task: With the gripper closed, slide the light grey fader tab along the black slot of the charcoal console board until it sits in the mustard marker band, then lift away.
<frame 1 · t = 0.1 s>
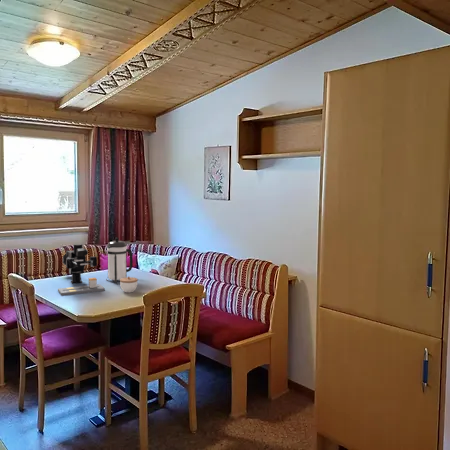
hand: (84, 264, 283), 17 cm above the table, tool horizontal, fingers open, 9 cm apart
coffee press: (118, 280, 315), on the table
console board: (81, 290, 285), on the table
lidded jar: (128, 291, 286), on the table
fader: (92, 282, 288), point 4 cm above the table, slide at 7.0 cm
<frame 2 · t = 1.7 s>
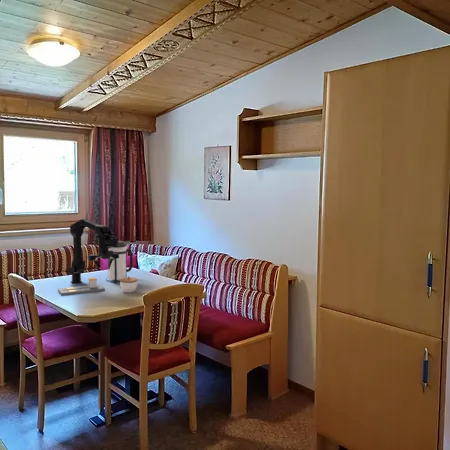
hand: (103, 269, 290), 12 cm above the table, tool pointing down, fingers open, 6 cm apart
nothing on the table moved.
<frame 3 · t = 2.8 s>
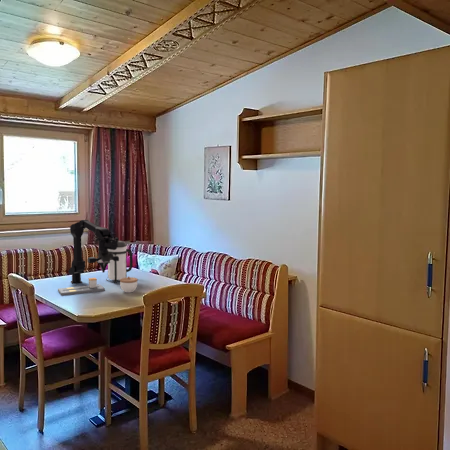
hand: (103, 272, 291), 10 cm above the table, tool pointing down, fingers closed
nothing on the table moved.
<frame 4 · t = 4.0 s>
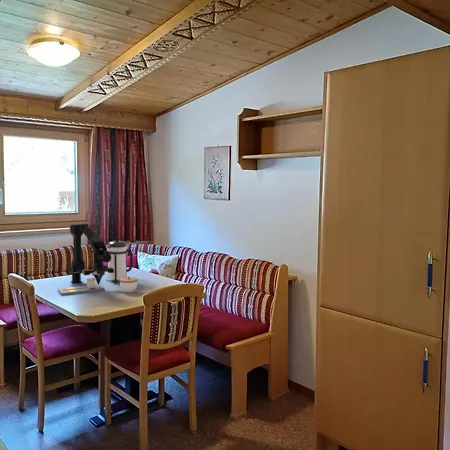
hand: (98, 284, 290), 3 cm above the table, tool pointing down, fingers closed
fader: (91, 282, 287), point 4 cm above the table, slide at 6.0 cm, touching gripper
everything else where it was.
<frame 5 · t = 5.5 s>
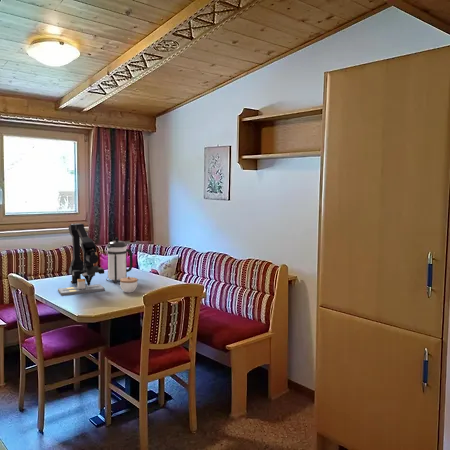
hand: (88, 285, 287), 3 cm above the table, tool pointing down, fingers closed
fader: (81, 283, 284), point 4 cm above the table, slide at 0.0 cm, touching gripper
everything else where it was.
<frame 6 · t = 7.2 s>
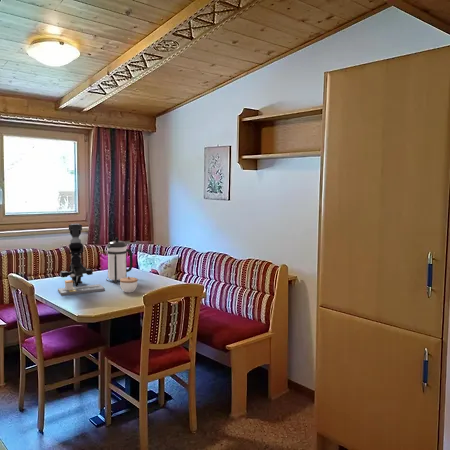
hand: (76, 286, 283), 3 cm above the table, tool pointing down, fingers closed
fader: (69, 285, 281), point 4 cm above the table, slide at -7.4 cm, touching gripper
everything else where it was.
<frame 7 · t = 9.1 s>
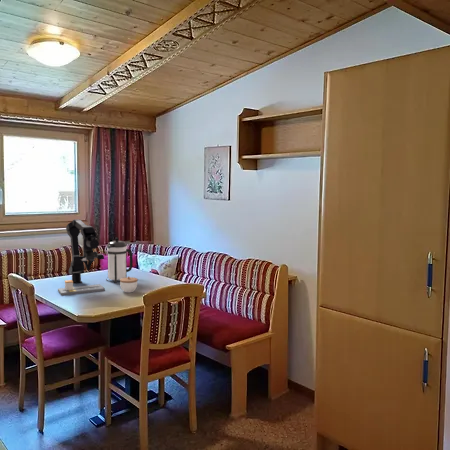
hand: (88, 270, 289), 12 cm above the table, tool pointing down, fingers closed
fader: (68, 285, 281), point 4 cm above the table, slide at -7.4 cm
everything else where it was.
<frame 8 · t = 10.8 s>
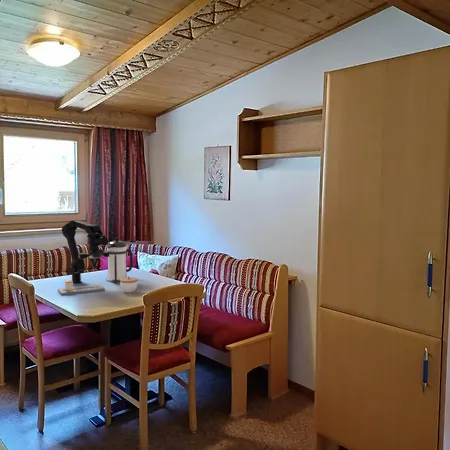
hand: (94, 268, 295), 12 cm above the table, tool pointing down, fingers closed
nothing on the table moved.
at the end: fader slide at -7.4 cm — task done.
